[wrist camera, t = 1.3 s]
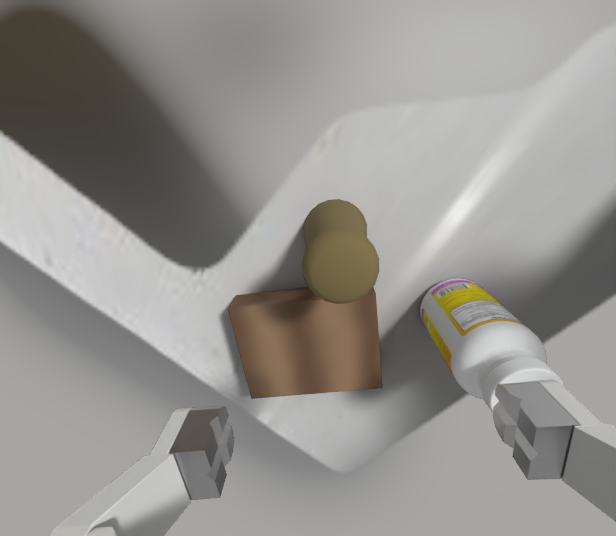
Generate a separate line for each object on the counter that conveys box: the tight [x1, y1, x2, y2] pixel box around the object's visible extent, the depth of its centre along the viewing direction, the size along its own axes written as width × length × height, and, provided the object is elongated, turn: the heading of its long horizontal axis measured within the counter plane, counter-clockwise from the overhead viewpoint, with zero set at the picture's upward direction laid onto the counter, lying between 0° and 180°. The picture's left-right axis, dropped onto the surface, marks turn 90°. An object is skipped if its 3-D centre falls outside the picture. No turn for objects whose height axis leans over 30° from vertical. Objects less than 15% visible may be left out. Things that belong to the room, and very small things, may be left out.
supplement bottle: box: [420, 278, 564, 412], centre depth 27 cm, size 7×7×13 cm
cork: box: [302, 199, 379, 304], centre depth 25 cm, size 6×6×11 cm
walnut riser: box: [228, 287, 382, 399], centre depth 33 cm, size 14×11×3 cm
